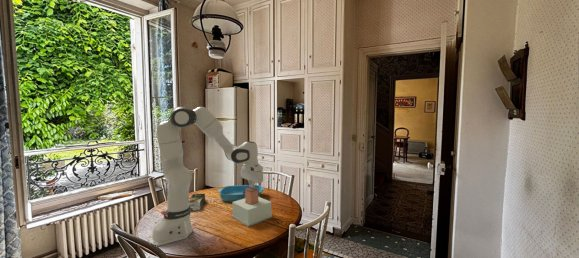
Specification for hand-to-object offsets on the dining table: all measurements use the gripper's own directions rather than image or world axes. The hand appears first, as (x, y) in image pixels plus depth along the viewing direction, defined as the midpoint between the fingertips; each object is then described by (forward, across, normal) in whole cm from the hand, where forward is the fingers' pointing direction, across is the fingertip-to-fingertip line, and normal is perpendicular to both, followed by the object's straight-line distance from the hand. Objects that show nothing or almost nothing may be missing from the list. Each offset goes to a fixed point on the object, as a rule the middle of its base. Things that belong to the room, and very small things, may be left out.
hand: (251, 187), depth 151 cm
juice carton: (+20, -46, -18) cm, 53 cm away
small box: (+20, -18, +12) cm, 30 cm away
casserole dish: (+20, -36, +15) cm, 44 cm away
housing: (+20, 0, 0) cm, 20 cm away
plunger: (+13, 0, 0) cm, 13 cm away
